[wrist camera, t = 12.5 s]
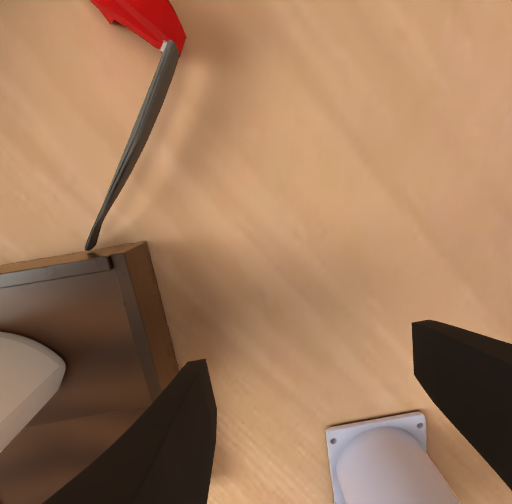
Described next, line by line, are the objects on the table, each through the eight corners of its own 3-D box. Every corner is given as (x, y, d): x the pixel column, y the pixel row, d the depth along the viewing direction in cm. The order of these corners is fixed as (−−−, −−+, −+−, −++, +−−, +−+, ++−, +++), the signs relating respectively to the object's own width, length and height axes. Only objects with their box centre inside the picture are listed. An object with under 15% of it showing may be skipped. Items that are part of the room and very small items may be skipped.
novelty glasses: (201, 30, 16) (184, -38, 12) (122, 259, 19) (80, 283, 14) (-51, -97, 15) (-197, -241, 10) (-101, 175, 17) (-236, 169, 12)
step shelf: (205, 477, 23) (198, 536, 19) (15, 512, 23) (-32, 578, 19) (146, 240, 19) (121, 253, 15) (-89, 279, 19) (-176, 303, 15)
